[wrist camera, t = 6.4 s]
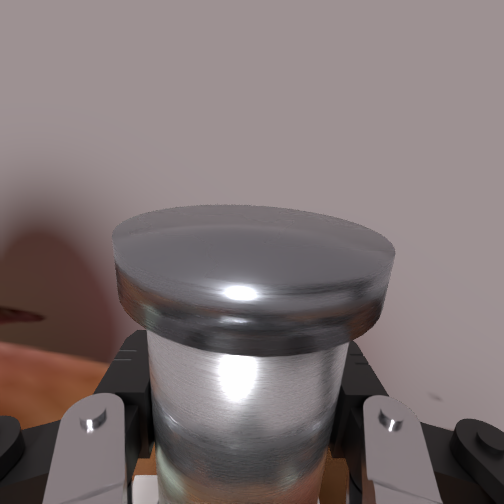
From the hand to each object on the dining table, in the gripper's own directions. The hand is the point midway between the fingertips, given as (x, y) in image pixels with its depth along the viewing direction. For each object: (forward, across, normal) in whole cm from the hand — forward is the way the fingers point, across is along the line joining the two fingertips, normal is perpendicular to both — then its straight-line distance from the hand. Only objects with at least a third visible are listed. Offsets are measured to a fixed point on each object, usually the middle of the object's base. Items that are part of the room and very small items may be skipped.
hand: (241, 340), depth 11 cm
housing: (-3, 0, +7) cm, 7 cm away
